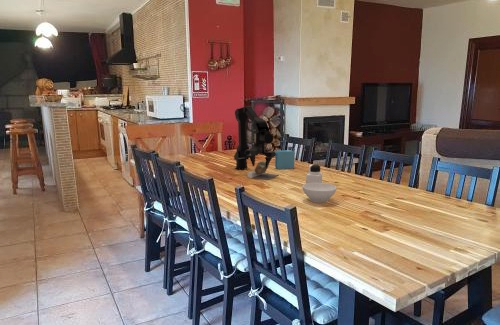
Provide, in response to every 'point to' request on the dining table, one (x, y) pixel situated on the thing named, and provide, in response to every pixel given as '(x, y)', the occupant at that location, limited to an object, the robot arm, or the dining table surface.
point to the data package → (284, 159)
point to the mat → (265, 176)
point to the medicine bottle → (314, 174)
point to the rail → (253, 174)
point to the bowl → (319, 191)
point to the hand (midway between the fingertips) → (259, 167)
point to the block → (261, 167)
